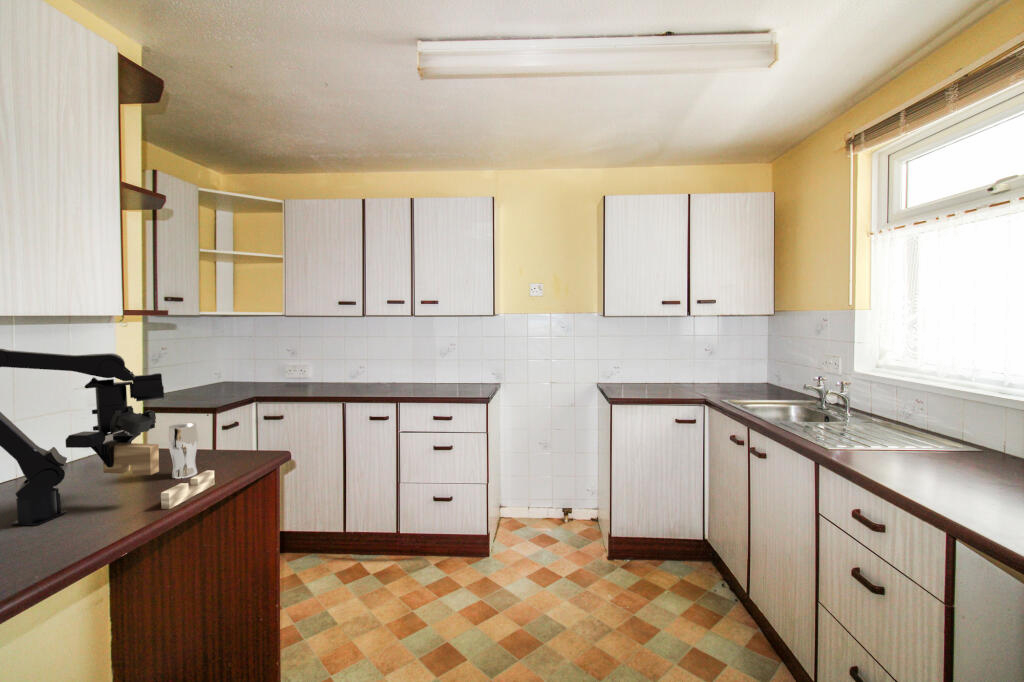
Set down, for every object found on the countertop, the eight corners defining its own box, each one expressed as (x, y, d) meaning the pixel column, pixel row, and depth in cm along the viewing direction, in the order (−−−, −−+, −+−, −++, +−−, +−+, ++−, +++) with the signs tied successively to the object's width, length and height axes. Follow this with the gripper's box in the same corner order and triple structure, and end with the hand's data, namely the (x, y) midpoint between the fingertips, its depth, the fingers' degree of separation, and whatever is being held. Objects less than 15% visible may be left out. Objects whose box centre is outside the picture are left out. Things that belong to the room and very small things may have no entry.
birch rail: (169, 509, 109) (168, 493, 108) (161, 508, 109) (160, 492, 108) (214, 484, 125) (214, 470, 124) (207, 484, 125) (207, 470, 124)
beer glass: (194, 477, 130) (191, 427, 129) (165, 480, 128) (163, 429, 127) (202, 470, 136) (200, 421, 135) (175, 472, 134) (173, 423, 133)
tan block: (150, 474, 110) (150, 447, 110) (103, 472, 110) (102, 445, 110) (158, 471, 113) (158, 444, 112) (112, 469, 113) (112, 442, 113)
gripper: (108, 412, 101) (112, 479, 102) (173, 397, 120) (176, 453, 121) (61, 412, 101) (65, 478, 102) (132, 397, 120) (136, 453, 121)
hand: (115, 465), depth 112 cm, fingers closed on tan block, 2 cm apart
